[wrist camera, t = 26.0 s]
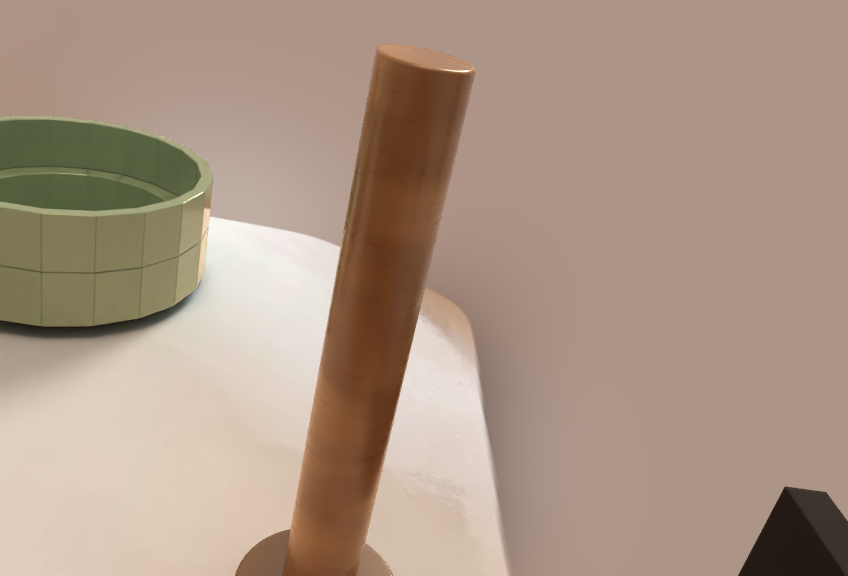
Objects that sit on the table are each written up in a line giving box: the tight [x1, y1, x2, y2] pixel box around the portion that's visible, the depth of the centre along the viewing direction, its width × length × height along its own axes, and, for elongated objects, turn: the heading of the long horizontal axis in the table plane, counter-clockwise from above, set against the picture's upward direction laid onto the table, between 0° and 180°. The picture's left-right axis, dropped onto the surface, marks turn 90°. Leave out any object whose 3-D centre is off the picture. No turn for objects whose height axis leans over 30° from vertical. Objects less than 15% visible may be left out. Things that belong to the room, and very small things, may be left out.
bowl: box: [0, 116, 213, 327], centre depth 39 cm, size 13×13×6 cm
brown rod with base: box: [235, 44, 475, 576], centre depth 21 cm, size 5×5×18 cm
